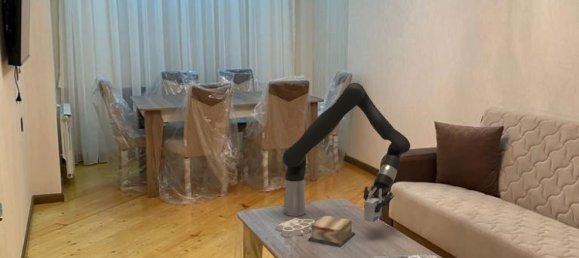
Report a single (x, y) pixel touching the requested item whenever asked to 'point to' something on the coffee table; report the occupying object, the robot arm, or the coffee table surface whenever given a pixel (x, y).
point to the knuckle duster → (295, 227)
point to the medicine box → (371, 210)
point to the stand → (332, 231)
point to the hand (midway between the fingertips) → (370, 210)
